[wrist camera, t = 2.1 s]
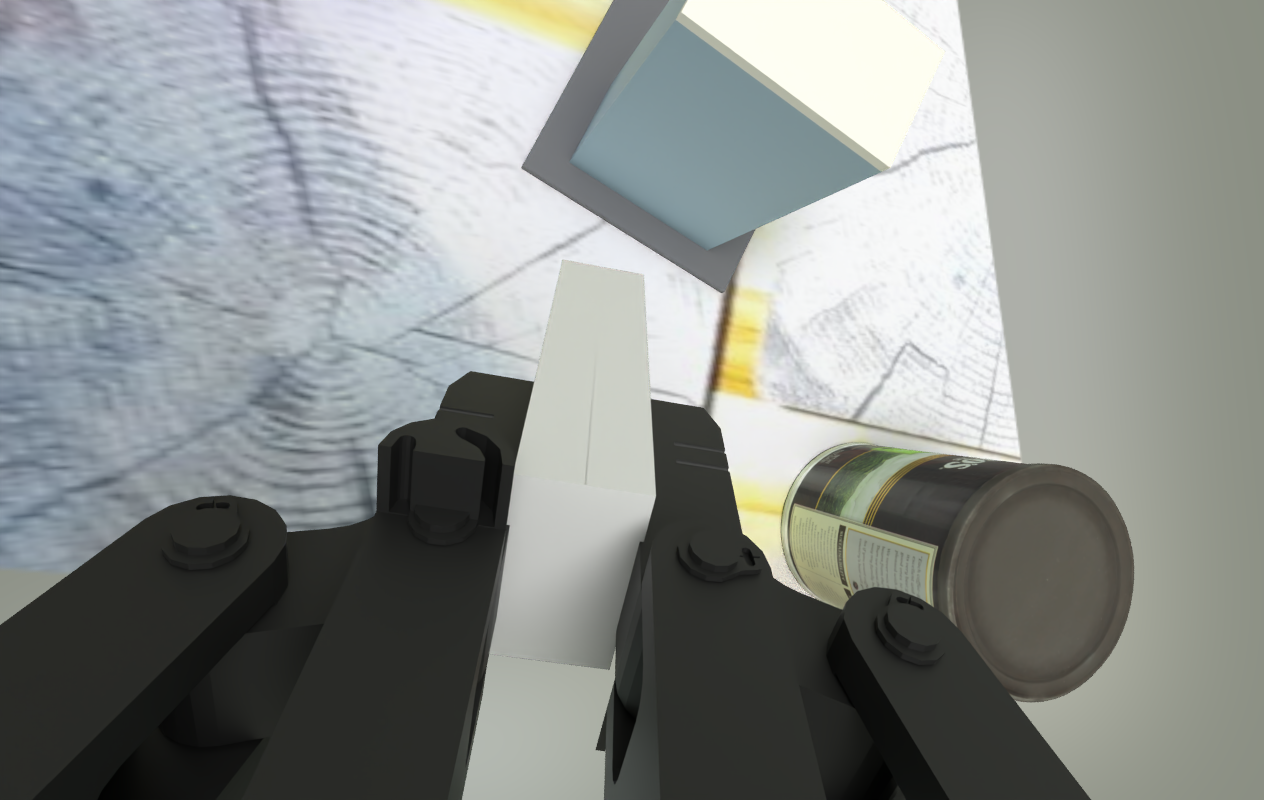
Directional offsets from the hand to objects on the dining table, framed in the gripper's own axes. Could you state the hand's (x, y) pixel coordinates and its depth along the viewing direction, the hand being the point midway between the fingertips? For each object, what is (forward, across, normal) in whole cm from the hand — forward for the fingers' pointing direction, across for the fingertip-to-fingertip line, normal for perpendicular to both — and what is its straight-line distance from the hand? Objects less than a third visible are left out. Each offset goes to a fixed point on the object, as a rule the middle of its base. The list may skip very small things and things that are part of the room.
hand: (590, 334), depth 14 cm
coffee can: (+22, +19, -20) cm, 35 cm away
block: (+28, +3, -3) cm, 29 cm away
